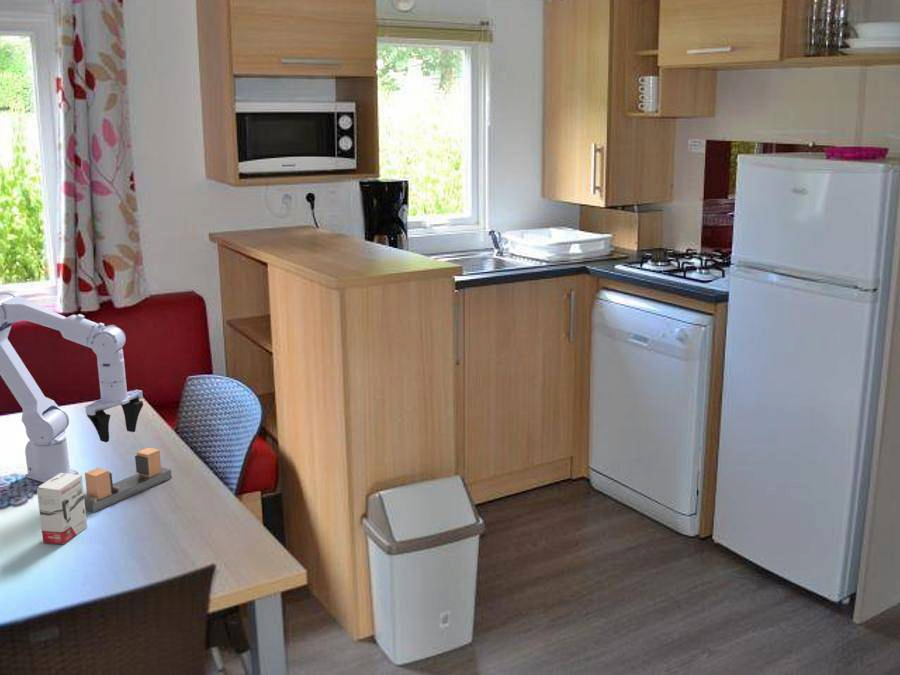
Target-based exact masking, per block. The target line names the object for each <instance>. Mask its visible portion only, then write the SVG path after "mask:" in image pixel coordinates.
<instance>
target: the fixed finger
mask: <svg viewBox="0 0 900 675" xmlns="http://www.w3.org/2000/svg"><path fill="white" fill-rule="evenodd" d="M160 453H161V452H160V449H158V448H152V447H146V448H144V449H141V450H139V451H137V452H136V455H135V456H134V459H135V471H136V474H138V473H139V475H142V476H146V477H149V478H150V477H152V476H154V475H157V474H159V473H161V466H162V464H161V454H160Z"/></svg>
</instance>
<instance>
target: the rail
mask: <svg viewBox="0 0 900 675" xmlns="http://www.w3.org/2000/svg"><path fill="white" fill-rule="evenodd" d="M172 475H173V474H172V470H171V469H169V468H165V467H161V473H159V474H157V475H154V476H152V477H150V478H149V477H146V476H142V475H139V473H136V474H134V475H130V476H129V477H127V478H124V479H122V480H120V481H117V482H115V483H113V490H112V491H111V495H109V496H106V497H104V498H102V499H99V500H97V497H94V496H90V495H87V493H84V501H85V510H86V512H87V511H88V512H91V513H95V512H98V511H100V510H102V509H104V508H107V507H109V506H112V505H114V504H116V503H119V502H121V501H123V500H125V499H128V498H129V497H133V496H134V495H137V494H138V493H141V492H143V491H145V490H147V489H150V488H152V487H154V486H157V485H159V484H161V483H163V482H166V481H168V480H170V479H173V478H172Z"/></svg>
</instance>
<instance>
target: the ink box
mask: <svg viewBox="0 0 900 675" xmlns="http://www.w3.org/2000/svg"><path fill="white" fill-rule="evenodd" d="M36 494H37V503H38V510H39V518H40V519H39V520H40V526H41V534H42V543H43V544H45V543H46V544H54V545H65V544H66V543H68V542H69V541H71V540H72V539H73V538H75V537H76V536H77V535H79V534H80V533H81V532H83V531H84V530H85V529H86V528H88V521H87V514H86V513H87V510H85V501H84V494H85V492H84V484H83V474H79V473H78V474H68V473H59V474H58V475H56V476H54V477H53V478H51V479H49V480H48V481H46V482H45V483H44V482H42V484H40V485H38V486H37V488H36Z"/></svg>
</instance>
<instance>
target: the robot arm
mask: <svg viewBox="0 0 900 675" xmlns="http://www.w3.org/2000/svg"><path fill="white" fill-rule="evenodd" d="M21 321H26V322H30V323H33V324H36V325H40V326H43V327H47V328H50V329H53V330H56V331H59V332H60V334H61V336H62V338H63V339H66V340H68V341H71V342H74V343H76V344H79V345H82V346H84V347H87V348H89V349H90V348H91V350H92V352H93V353H94V354H95V355H96V359H97V360H96V361H97V362H96V364H97V371H98V380H99V381H98V382H99V391H100V398H99V399H97V400H96V401H94V402H92V403H90V404H88V405H85V406H84V407H85V414H86V416H87V418H88V419H89V420H90V422H91V423H92V425H93V426H94V428H95V431H96V432H97V434H98V437H99V440H100V442H103V443H108V442H109V441H110V431H109V430H110V429H109V428H110V427H109V426H110V418H111V414H108V413H106V410H109V409H112V408H115V407H118V406H121V407H122V411H123V416H124V420H125V421H124V422H125V427H126V431H127V432H130V433H135V432H136V429H137V424H138V419H139V416H140V413H141V410H142V408H143V407H144V401H143V400H142V399H143V397H144V395H143V390H141V389H140V390H139V389H134V390H130V391H128V389H127V378H126V368H125V359H124V358H125V357H124V349H123V347H124V346H125V344H126V341H127V340H126V339H127V338H126V333H125V332H124V331H123V329H121V328H120V327H118V326H117V325H115V324H110V325H106V326H105V323H103V322H98V323H97V322H95V321H92V320H90V319H87V318H85V315H83V314H81V313H79V314H71V315H69V316H67V317H66V316H64V315H62V314H59V313H57V312H56V311H53V310H50V309H48V308H46V307H43V306H41V305H39V304H36V303H34V302H32V301H30V300H28V299H26V298H25V297H23V296H21V295H16V294H13V293H10V292H2V293H0V377H1V379H2V380H3V381H4V383H5V385H6V386H7V388H8V389H9V390H10V392H11V394H12V395H13V397H14V398H15V400H16V402H17V403H18V404H19V405H20V408H22V415H21V422H22V424H23V425H24V428H25V433H26V436H27V438H28V442H27V443H26V445H25V450H24V454H25V459H26V460H25V462H26V468H27V469H26V470H27V471H26V472H27V473H25V474H24V477H25V478H28V479H31V480H34V481H38V482H41V483H45V482H46V481H48V480H49V479H51V478H53V477H54V476H56V475H58V474H59V473H68V474H78V475H79V471H78V470H76V469H71V468H70V458H69V449H68V448H69V447H68V441H67V434H66V430H67V428H68V426H69V424H70V417H69V415H68V413H67V412H66V410H64V409H63V408H61V407H59V405H58V404H57V403H56V402H55V400H53V399H51V398H49V397H47V396H45V395H44V393H43V391H42V390H41V388H40V387H39V385H38V383H37V382H36V380H35V379H34V377H33V376H32V374H31V373H30V371H29V370H28V368H27V367H26V365H25V363H24V362H23V360H22V358H21V357H20V356H19V354H18V353H17V351H16V349H15V348H14V347H13V345H12V344H11V342H10V340H9V339H8V338H9V334H10V332H11V329H12V325H13V324H14V323H17V322H21Z"/></svg>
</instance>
